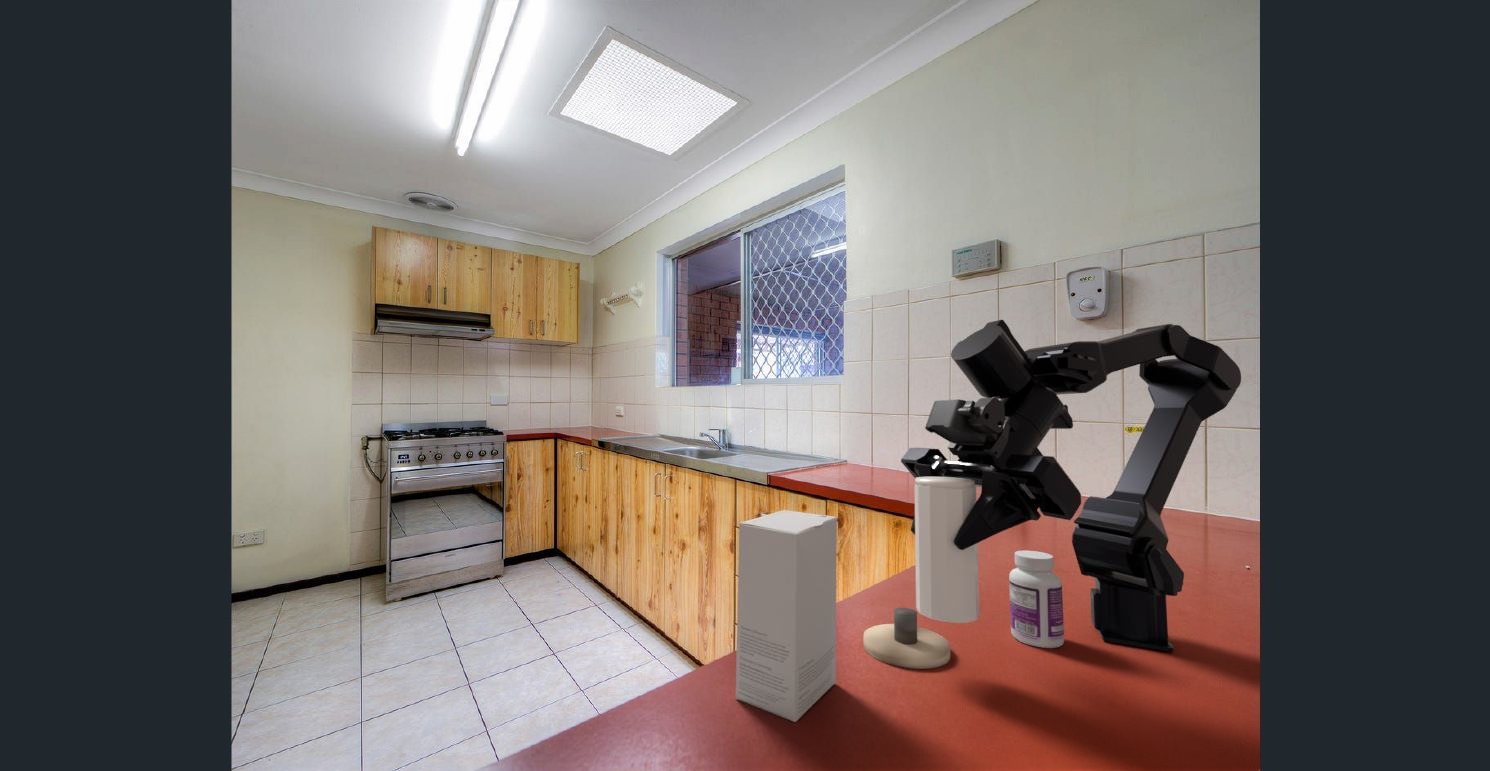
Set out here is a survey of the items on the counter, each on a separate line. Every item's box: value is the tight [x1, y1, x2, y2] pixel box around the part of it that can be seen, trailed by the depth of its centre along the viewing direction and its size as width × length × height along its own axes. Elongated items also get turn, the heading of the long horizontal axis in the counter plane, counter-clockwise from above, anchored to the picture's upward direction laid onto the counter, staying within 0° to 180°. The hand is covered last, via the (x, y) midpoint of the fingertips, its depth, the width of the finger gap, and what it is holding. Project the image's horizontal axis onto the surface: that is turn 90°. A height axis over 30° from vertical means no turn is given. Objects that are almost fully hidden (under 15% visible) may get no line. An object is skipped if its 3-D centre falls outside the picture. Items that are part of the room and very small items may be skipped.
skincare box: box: [735, 509, 838, 723], centre depth 47 cm, size 8×7×16 cm
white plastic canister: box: [913, 477, 980, 624], centre depth 51 cm, size 6×6×13 cm
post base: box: [863, 607, 951, 670], centre depth 56 cm, size 9×9×4 cm
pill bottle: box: [1008, 550, 1065, 649], centre depth 59 cm, size 5×5×10 cm
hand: (934, 539), depth 51 cm, fingers closed on white plastic canister, 6 cm apart
